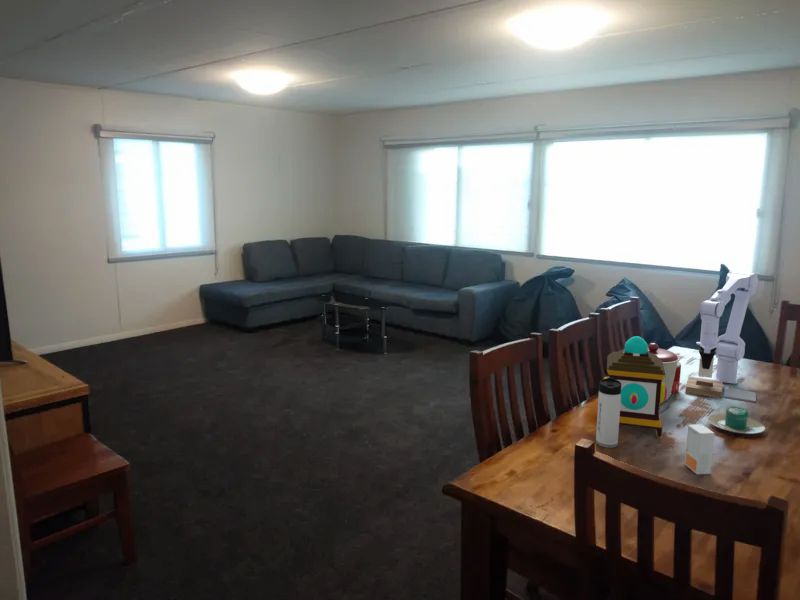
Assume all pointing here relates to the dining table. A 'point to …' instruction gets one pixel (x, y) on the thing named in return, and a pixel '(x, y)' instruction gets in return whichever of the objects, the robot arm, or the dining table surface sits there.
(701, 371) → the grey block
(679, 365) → the canned food
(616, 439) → the travel mug
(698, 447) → the skincare box
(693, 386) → the pocket board
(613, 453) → the dining table surface
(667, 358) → the canister
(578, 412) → the dining table surface
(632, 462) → the dining table surface
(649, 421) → the decorative lantern
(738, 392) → the coaster
